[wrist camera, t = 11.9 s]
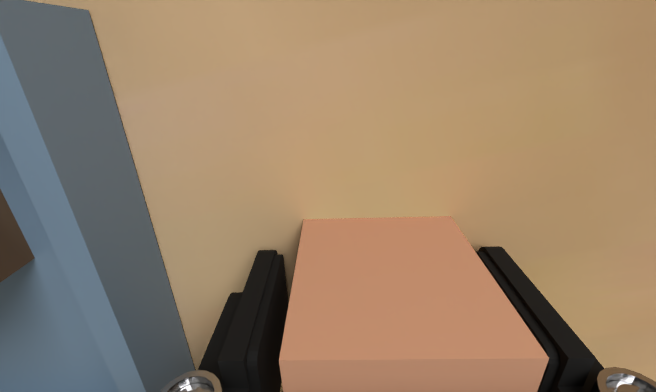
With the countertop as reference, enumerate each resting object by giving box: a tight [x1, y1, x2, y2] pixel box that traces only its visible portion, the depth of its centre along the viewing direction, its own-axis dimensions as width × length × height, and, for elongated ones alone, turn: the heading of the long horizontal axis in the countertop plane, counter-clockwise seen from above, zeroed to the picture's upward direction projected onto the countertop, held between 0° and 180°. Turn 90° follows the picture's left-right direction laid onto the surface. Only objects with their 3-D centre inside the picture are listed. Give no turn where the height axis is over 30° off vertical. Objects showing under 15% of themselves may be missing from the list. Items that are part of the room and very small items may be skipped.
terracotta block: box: [279, 216, 549, 392], centre depth 9 cm, size 4×4×5 cm
